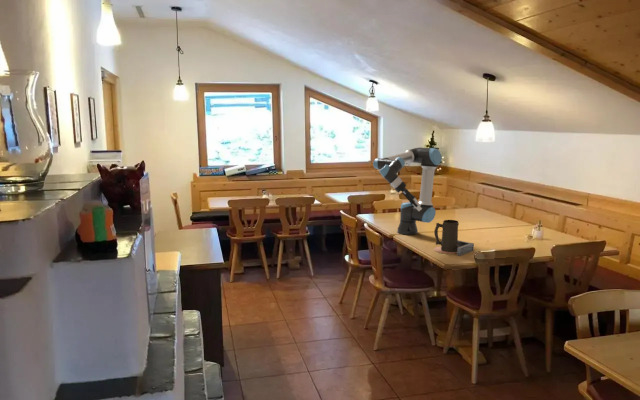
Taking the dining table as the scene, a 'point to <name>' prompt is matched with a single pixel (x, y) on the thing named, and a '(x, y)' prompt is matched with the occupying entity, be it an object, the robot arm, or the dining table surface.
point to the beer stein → (448, 235)
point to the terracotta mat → (438, 249)
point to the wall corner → (464, 247)
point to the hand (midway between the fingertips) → (420, 208)
